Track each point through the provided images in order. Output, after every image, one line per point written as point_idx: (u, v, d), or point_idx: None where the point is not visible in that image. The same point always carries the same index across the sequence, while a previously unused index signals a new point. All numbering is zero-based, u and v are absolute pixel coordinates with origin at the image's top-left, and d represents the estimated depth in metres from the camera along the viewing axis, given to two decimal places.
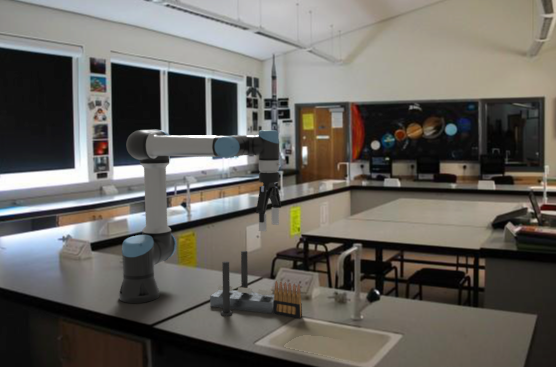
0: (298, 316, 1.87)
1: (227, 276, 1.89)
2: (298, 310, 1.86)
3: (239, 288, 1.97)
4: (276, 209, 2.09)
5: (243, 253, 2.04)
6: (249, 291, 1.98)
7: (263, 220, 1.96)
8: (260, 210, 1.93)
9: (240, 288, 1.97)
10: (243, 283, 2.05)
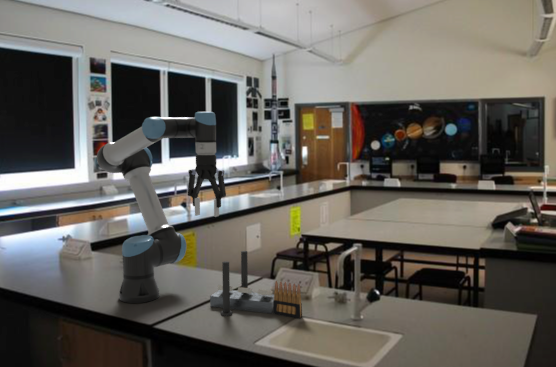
0: (298, 316, 1.87)
1: (227, 276, 1.89)
2: (298, 310, 1.86)
3: (239, 288, 1.97)
4: None
5: (243, 253, 2.04)
6: (249, 291, 1.98)
7: (194, 204, 2.01)
8: None
9: (240, 288, 1.97)
10: (243, 283, 2.05)
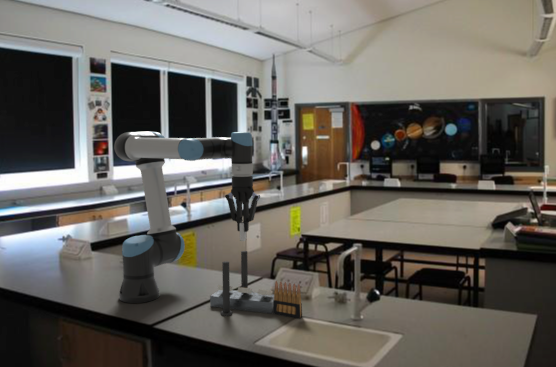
0: (298, 316, 1.87)
1: (227, 276, 1.89)
2: (298, 310, 1.86)
3: (239, 288, 1.97)
4: None
5: (243, 253, 2.04)
6: (249, 291, 1.98)
7: (238, 229, 1.95)
8: None
9: (240, 288, 1.97)
10: (243, 283, 2.05)
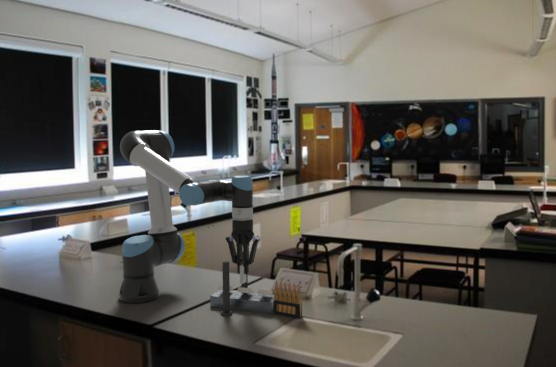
0: (298, 316, 1.87)
1: (227, 276, 1.89)
2: (298, 310, 1.86)
3: (239, 288, 1.97)
4: None
5: None
6: (249, 291, 1.98)
7: (239, 271, 1.96)
8: None
9: (240, 288, 1.97)
10: None
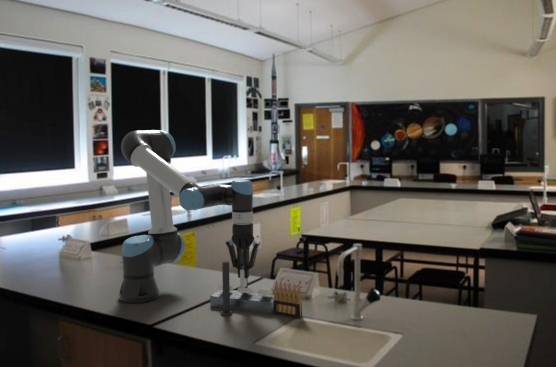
0: (298, 316, 1.87)
1: (227, 276, 1.89)
2: (298, 310, 1.86)
3: (239, 288, 1.97)
4: None
5: (243, 253, 2.04)
6: (249, 291, 1.98)
7: (239, 275, 1.96)
8: None
9: (240, 288, 1.97)
10: None
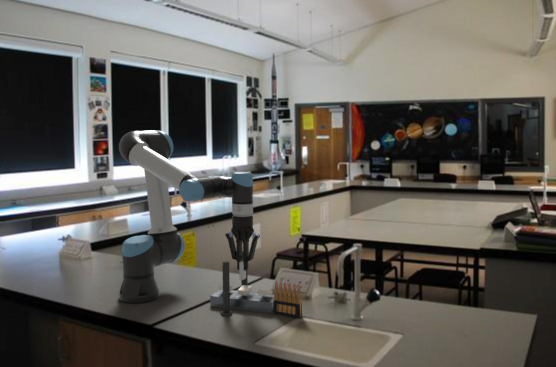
0: (298, 316, 1.87)
1: (227, 276, 1.89)
2: (298, 310, 1.86)
3: (239, 291, 1.97)
4: None
5: None
6: (249, 291, 1.98)
7: (238, 267, 1.96)
8: None
9: (240, 291, 1.97)
10: (243, 283, 2.05)
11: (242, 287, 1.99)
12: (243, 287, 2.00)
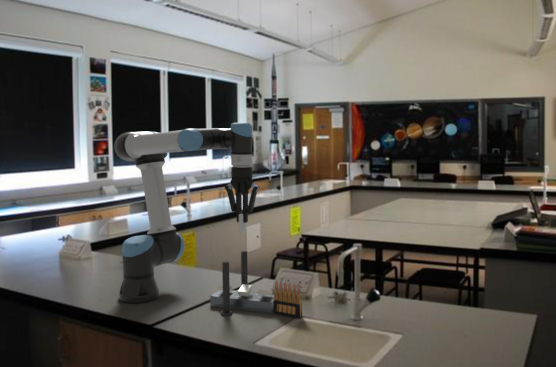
0: (298, 316, 1.87)
1: (227, 276, 1.89)
2: (298, 310, 1.86)
3: (239, 292, 1.97)
4: None
5: (243, 253, 2.04)
6: (249, 291, 1.98)
7: (238, 220, 1.94)
8: None
9: (240, 292, 1.97)
10: (243, 283, 2.05)
11: (242, 287, 1.99)
12: (243, 286, 1.99)
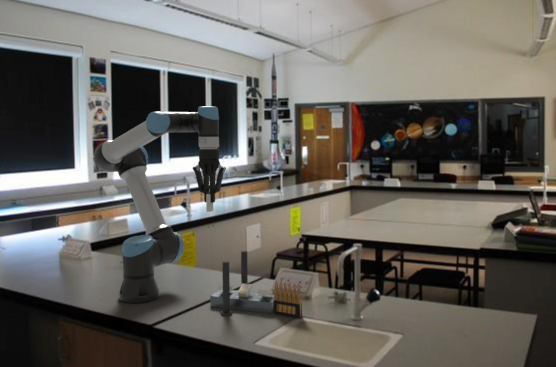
0: (298, 316, 1.87)
1: (227, 276, 1.89)
2: (298, 310, 1.86)
3: (239, 293, 1.97)
4: None
5: (243, 253, 2.04)
6: (249, 291, 1.99)
7: (205, 200, 2.02)
8: None
9: (240, 293, 1.97)
10: (243, 283, 2.05)
11: (242, 287, 1.99)
12: (243, 286, 1.99)
